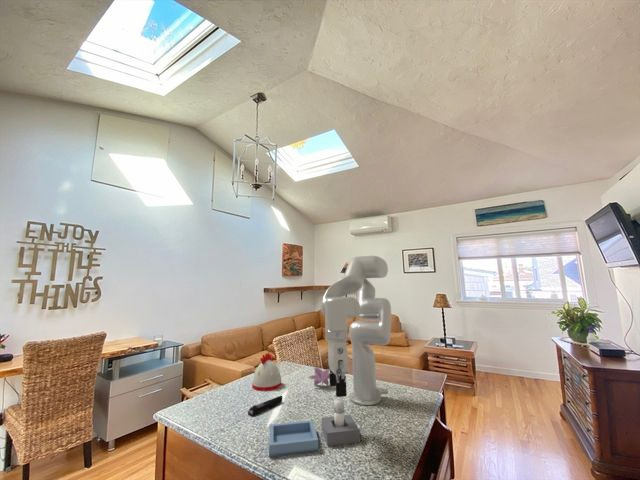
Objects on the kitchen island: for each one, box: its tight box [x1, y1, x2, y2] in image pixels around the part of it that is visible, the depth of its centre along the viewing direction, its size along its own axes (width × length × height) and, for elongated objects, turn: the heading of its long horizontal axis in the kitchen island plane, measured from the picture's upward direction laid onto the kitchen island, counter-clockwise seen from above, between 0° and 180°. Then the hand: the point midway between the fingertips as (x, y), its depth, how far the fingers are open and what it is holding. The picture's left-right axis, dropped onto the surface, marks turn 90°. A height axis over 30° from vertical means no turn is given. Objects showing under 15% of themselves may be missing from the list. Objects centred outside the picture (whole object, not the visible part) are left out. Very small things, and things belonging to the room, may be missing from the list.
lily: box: [308, 366, 330, 389], centre depth 128 cm, size 12×12×10 cm
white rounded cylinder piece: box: [333, 398, 345, 428], centre depth 87 cm, size 3×3×10 cm
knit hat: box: [251, 352, 282, 392], centre depth 133 cm, size 14×14×15 cm
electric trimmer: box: [247, 395, 283, 417], centre depth 107 cm, size 4×16×3 cm, turn 139°
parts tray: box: [268, 419, 319, 458], centre depth 83 cm, size 14×12×3 cm
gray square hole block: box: [320, 414, 360, 447], centre depth 87 cm, size 10×10×4 cm
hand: (337, 390), depth 88 cm, fingers open, 9 cm apart
